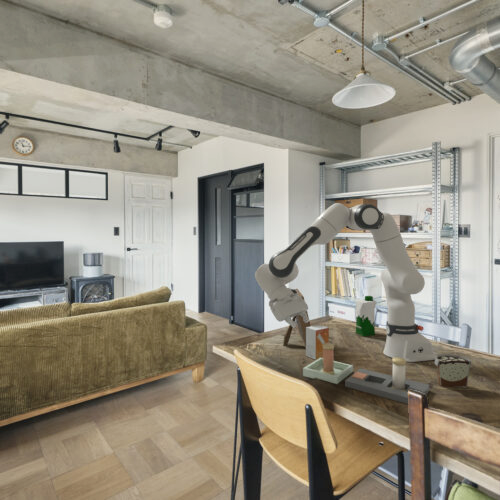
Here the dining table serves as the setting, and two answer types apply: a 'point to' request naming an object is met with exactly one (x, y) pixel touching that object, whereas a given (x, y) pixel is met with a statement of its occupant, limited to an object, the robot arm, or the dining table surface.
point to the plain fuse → (398, 373)
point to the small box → (316, 340)
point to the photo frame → (301, 326)
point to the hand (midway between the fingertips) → (301, 324)
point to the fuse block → (382, 385)
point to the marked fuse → (328, 358)
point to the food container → (452, 370)
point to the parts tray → (316, 372)
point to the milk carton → (365, 316)
